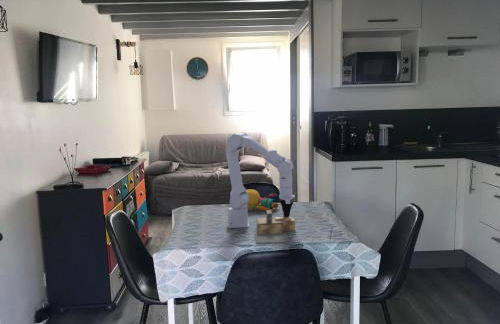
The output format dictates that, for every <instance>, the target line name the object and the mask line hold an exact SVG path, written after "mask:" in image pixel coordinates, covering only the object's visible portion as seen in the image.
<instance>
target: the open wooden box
mask: <svg viewBox="0 0 500 324" xmlns="http://www.w3.org/2000/svg"><path fill="white" fill-rule="evenodd" d="M256 231H257V234H275V233H284V232H295V231H296V220H295V218H292V217H291V220H282V224H279V225H258V224H257V223H256Z"/></svg>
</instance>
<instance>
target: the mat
mask: <svg viewBox="0 0 500 324" xmlns="http://www.w3.org/2000/svg"><path fill="white" fill-rule="evenodd" d="M254 238H255V244H258V245H260V244H261V245H262V244H263V243H264V244H284V243H285V244H286V243H290V242H291V241H290V238H289V236H288V233H286V232H283V233H271V234H258V233H256V234H255V233H254Z"/></svg>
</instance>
